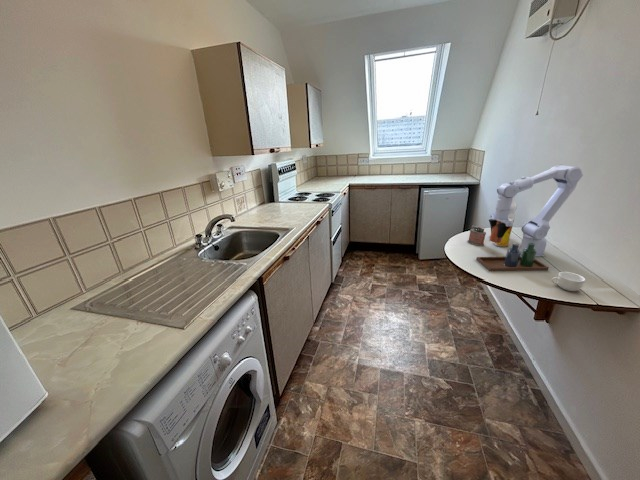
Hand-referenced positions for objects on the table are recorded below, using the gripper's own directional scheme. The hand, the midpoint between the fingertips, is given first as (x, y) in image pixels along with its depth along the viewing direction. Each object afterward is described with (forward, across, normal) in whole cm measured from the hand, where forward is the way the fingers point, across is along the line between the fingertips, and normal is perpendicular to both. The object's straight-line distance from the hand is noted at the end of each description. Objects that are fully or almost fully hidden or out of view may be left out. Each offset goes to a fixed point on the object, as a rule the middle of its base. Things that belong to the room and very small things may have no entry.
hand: (496, 235), depth 132 cm
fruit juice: (+10, -21, +16) cm, 28 cm away
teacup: (+10, +32, +10) cm, 35 cm away
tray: (+10, +13, +1) cm, 17 cm away
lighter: (+11, -14, -2) cm, 18 cm away
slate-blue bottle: (+10, +13, +1) cm, 16 cm away
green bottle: (+10, +13, +8) cm, 18 cm away
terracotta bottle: (+3, 0, 0) cm, 3 cm away
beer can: (+10, -11, +10) cm, 18 cm away
